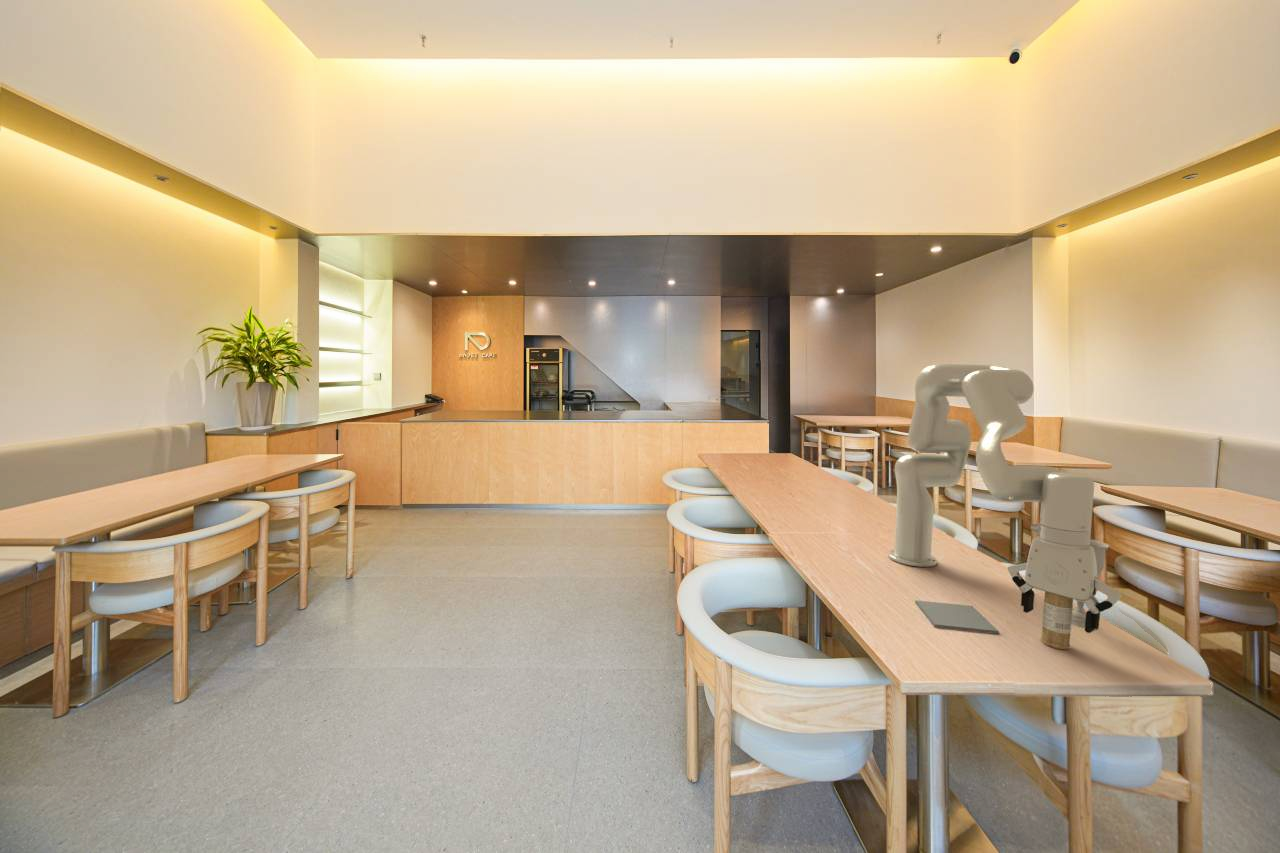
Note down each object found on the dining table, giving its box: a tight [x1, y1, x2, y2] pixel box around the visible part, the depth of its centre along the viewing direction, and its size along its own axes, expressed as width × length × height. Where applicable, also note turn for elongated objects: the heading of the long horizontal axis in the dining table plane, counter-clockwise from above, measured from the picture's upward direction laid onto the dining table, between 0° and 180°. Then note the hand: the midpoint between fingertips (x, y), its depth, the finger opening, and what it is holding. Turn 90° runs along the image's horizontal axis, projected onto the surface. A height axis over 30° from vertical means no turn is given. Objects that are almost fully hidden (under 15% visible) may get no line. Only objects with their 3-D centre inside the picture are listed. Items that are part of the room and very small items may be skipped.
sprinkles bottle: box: [1040, 591, 1074, 650], centre depth 96 cm, size 5×5×14 cm
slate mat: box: [914, 599, 999, 635], centre depth 107 cm, size 12×12×1 cm
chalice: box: [1071, 538, 1110, 629], centre depth 105 cm, size 7×7×18 cm
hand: (1057, 620), depth 95 cm, fingers open, 9 cm apart
